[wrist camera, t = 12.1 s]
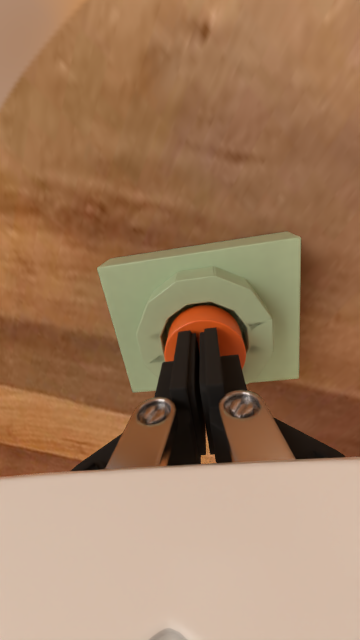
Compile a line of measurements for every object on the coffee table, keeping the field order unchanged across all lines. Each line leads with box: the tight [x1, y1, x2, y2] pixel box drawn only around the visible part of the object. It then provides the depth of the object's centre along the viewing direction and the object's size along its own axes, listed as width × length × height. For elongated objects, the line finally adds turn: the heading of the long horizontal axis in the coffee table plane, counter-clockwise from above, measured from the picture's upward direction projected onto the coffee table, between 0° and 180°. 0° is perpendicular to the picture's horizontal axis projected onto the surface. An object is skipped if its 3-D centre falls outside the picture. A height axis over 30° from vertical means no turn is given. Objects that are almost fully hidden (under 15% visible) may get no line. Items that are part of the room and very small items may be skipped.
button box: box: [97, 232, 301, 392], centre depth 15 cm, size 10×8×4 cm
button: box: [164, 305, 246, 369], centre depth 13 cm, size 4×4×2 cm
